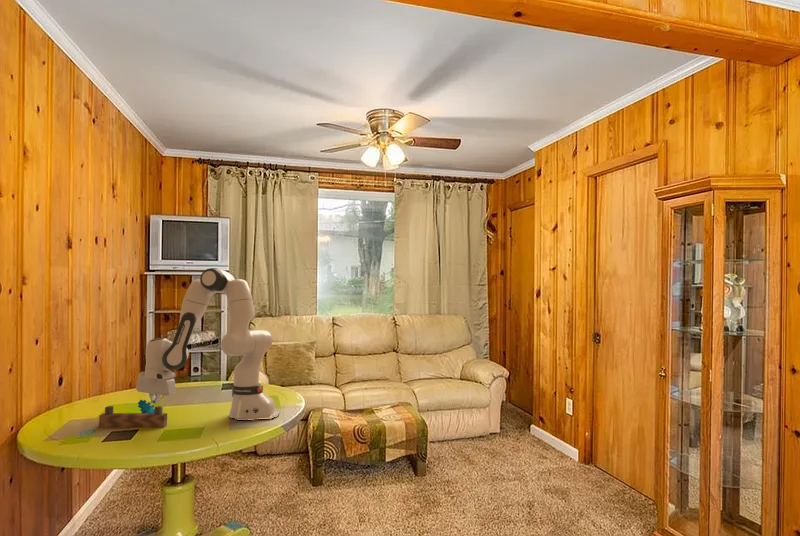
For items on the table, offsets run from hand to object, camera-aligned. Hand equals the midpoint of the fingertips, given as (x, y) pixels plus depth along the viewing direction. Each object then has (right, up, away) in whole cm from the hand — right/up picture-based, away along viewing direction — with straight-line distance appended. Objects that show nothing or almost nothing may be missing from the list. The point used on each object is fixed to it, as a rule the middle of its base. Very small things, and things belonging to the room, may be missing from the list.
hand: (154, 403), depth 214 cm
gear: (0, -5, -5) cm, 7 cm away
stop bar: (+1, -4, -19) cm, 20 cm away
